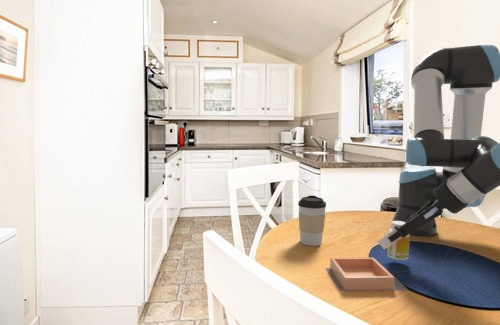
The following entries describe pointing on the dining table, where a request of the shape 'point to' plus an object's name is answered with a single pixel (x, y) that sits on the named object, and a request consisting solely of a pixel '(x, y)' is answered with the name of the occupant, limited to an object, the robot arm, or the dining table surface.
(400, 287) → the mat
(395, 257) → the supplement bottle
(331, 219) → the dining table surface
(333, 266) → the dish
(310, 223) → the coffee cup
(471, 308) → the dining table surface
